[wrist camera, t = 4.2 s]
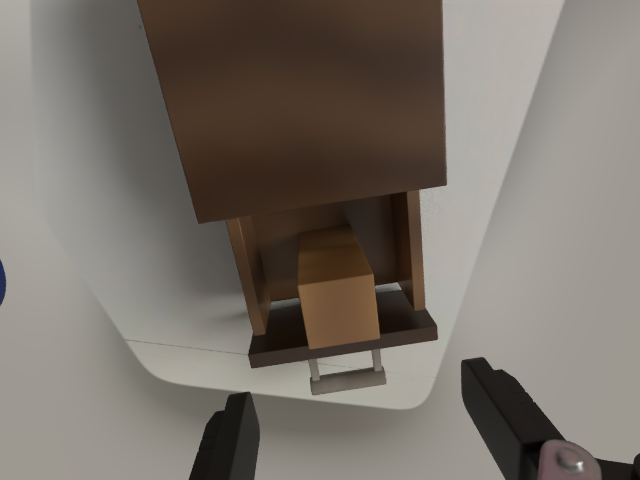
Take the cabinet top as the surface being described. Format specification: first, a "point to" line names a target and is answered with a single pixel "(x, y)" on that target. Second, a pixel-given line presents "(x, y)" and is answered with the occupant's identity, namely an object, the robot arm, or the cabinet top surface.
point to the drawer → (282, 274)
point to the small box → (335, 288)
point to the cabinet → (300, 99)
